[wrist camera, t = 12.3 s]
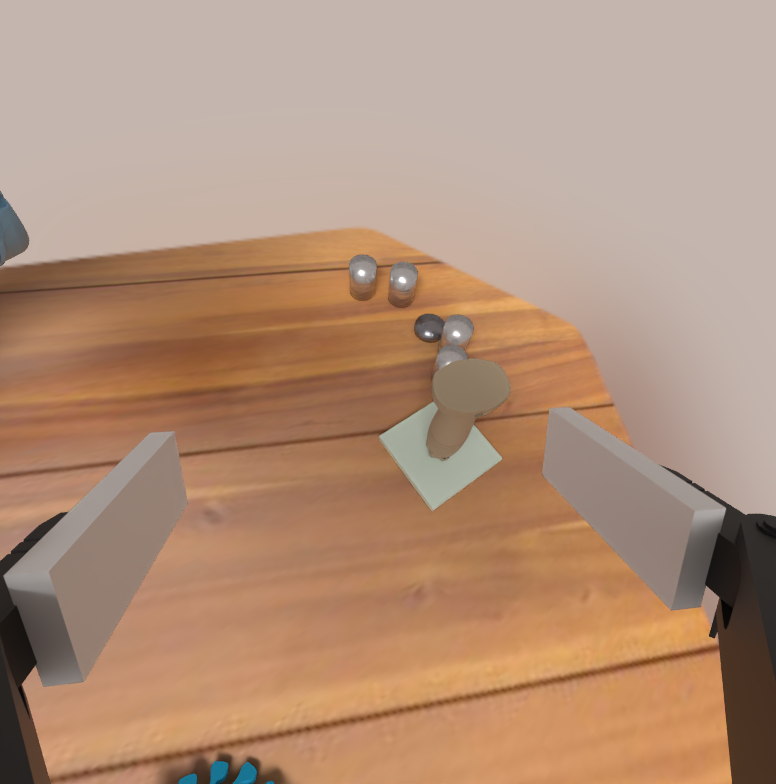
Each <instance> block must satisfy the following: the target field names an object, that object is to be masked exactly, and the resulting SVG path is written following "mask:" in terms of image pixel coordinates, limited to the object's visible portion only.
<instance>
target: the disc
mask: <svg viewBox="0 0 776 784" xmlns="http://www.w3.org/2000/svg"><path fill="white" fill-rule="evenodd" d="M444 325H445V323H444V321H443V320H442V319H441V318H440V317H439V316H437V315H434V314H424V315H421V316H420V317H419V318H418V319H417V320H416V323H415V328H414V331H415V334H416V336H417V337H418V338H419V339H420V340H422V341H424V342H428V343H433V342H437V341H439V340H440V338H441V335H442V331H443V328H444Z"/></svg>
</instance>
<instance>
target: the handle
mask: <svg viewBox="0 0 776 784" xmlns="http://www.w3.org/2000/svg"><path fill="white" fill-rule="evenodd" d="M510 389H511V388H510V382H509V379H508V377H507V375H506V373H505V371H504V370H503V369H502V368H501V367H500V366H499V365H498V364H497V363H495V362H492V361H487V360H482V359H475V358H472V359H464V360H458V361H454V362H451V363H449V364H447V365H446V366H444V367H443V368H441V369H440V370H439V371H437V372H436V373H435V374H434V377H433V380H432V384H431V393H432V398H433V400H434V403H435V404H436V406H437V408H438V410H437V412H436V414H435V415H434V417H433V419H432V421H431V423H430V426H429V429H428V434H427V440H426V447H427V448H428V450H429V456H430V457H431V458H438V459H440V460H441V461H446V460H448V459H449V457H450V456H452V455H453V454H454V453H456V452H457V451H458V450H459V449H460V448H461V447H462V445H463V444H464V442H465V441H466V439H467V438H468V436H469V433H470V431H471V429H472V427H473V424H474V422H475V420H476V418H479V417H482V416H485V415H487V414H489V413H491V412H492V411H494V410H495V409H497V408H498V407H499V406H500V405H502V404H503V403H504V402H505V401H506V400H507V398H508V397H509V395H510Z"/></svg>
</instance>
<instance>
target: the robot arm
mask: <svg viewBox="0 0 776 784" xmlns="http://www.w3.org/2000/svg"><path fill="white" fill-rule="evenodd" d="M28 245H29V237H28V234H27V232H26V230H25V228H24V226H23V224H22V223H21V221H20V219H19V218H18V216H17V214H16V213H15V212H14V210H13V209H12V207H11V206H10V204H9V203H8V202H7V200H6V199H4V197H3V194H2V193H1V191H0V266H1V265H3V264H4V263H5V261H6V260H8V259H11V258H12V257H14V256H16V255H18V254H20V253H22V252H24V251H25V250H26V249H27V247H28ZM542 475H543V476H544V478H545V479H546V480H547V481H548V482H549V483H550V484H551V485H552V486H553V487H554V488H555V489H556V490H557V491H558V492H559V493H560V494H561V495H562V496H563V497H564V499H565V500H566V501H567V502H568V503H569V504H570V505H571V506H572V507H573V508H574V509H575V510H576V511H577V512H578V513H579V514H580V515H581V516H582V517H583V518H584V520H585V521H586V522H587V523H588V524H589V525H590V526H591V527H592V528H593V529H594V530H595V531H596V532H597V533H598V534H599V535H600V536H601V537H602V538H603V539H604V540H605V542H606V543H607V544H608V545H609V546H610V547H611V548H612V549H613V550H614V551H615V552H616V553H617V554H618V555H619V556H620V557H621V558H622V559H623V560H624V561H625V563H626V564H627V565H628V566H629V567H630V568H631V569H632V570H633V571H634V572H635V573H636V574H637V575H638V576H639V577H640V578H641V579H642V580H643V581H644V582H645V584H646V585H647V586H648V587H649V588H650V589H651V590H652V591H653V592H654V593H655V594H656V595H657V596H658V597H659V598H660V599H661V600H662V601H663V602H664V603H665V605H666V606H667V607H668V608H669V609H670V610H671V611H672V610H680V609H688V608H697V607H701V603H702V599H703V595H704V591H705V588H706V586H707V587H709V588H710V589H711V590H712V591H713V592H714V593H715V594H716V595H718V596H719V597H720V598H719V602H718V605H717V609H716V612H715V616H714V620H713V623H712V627H711V630H710V634H709V636H710V637H712V638H715V636H716V634H717V632H718V639H719V649H720V660H721V670H722V681H723V692H724V702H725V713H726V723H727V734H728V745H729V755H730V766H731V776H732V784H776V517H775V516H771V515H765V514H747V515H745V514H743V513H742V512H740V511H739V510H737V509H735V508H734V507H732V506H731V505H729V504H727V503H726V502H724V501H723V500H721V499H720V498H718V497H716V496H715V495H713V494H712V493H710V492H708V491H705V490H704V489H703V488H702V487H700V486H699V485H697V484H696V483H692V481H691V480H689V479H688V478H686V477H685V476H683V475H681V474H680V473H678V472H676V471H673V470H671V469H669V468H666V467H664V466H661V465H659V464H657V463H655V462H654V461H652V460H651V459H649V458H648V457H646V456H645V455H643V454H641V453H640V452H638V451H637V450H635V449H634V448H632V447H631V446H629V445H627V444H626V443H624V442H623V441H621V440H620V439H618V438H617V437H615V436H613V435H612V434H610V433H609V432H607V431H606V430H604V429H602V428H601V427H599V426H598V425H596V424H595V423H593V422H592V421H590V420H588V419H587V418H585V417H584V416H582V415H581V414H579V413H578V412H576V411H574V410H573V409H571V408H570V407H562V408H549V417H548V426H547V436H546V445H545V455H544V464H543V473H542ZM187 504H188V502H187V496H186V491H185V485H184V480H183V475H182V469H181V464H180V458H179V453H178V448H177V442H176V437H175V432H174V431H171V432H154V433H149V434H148V435H147V436H146V437H145V438H144V439H143V440H142V441H141V442H140V443H139V444H138V445H137V446H136V447H135V448H134V449H133V450H132V451H131V452H130V453H129V454H128V455H127V456H126V457H125V458H124V459H123V460H122V461H121V462H120V463H119V464H118V465H117V466H116V467H114V468H113V469H112V470H111V471H110V472H109V473H108V474H107V475H106V476H105V477H104V478H103V479H102V480H101V481H100V482H99V483H98V484H97V485H96V486H95V487H94V488H93V489H92V490H91V491H90V492H89V493H88V494H87V495H86V496H85V497H84V498H83V499H82V500H81V501H80V502H79V503H78V504H77V505H75V506H74V507H73V508H72V509H71V510H70V511H69V512H65V513H59V514H58V515H56V516H54V517H53V518H51V519H49V520H47V521H46V522H44V523H42V524H41V525H39V526H38V527H37V528H36V529H35V530H34V531H32V532H31V533H30V534H29V535H28V536H27V537H26V538H25V539H24V542H21V543H19V544H18V545H17V546H16V547H15V548H14V549H13V550H12V551H11V554H7V555H6V556H5V557H4V558H3V559H2V560H1V561H0V784H51V783H50V780H49V776H48V772H47V769H46V765H45V762H44V758H43V755H42V751H41V747H40V744H39V740H38V737H37V733H36V729H35V726H34V722H33V719H32V715H31V711H30V708H29V704H28V701H27V697H26V694H25V692H24V689H23V686H22V683H23V682H24V680H25V679H26V677H27V676H28V675H29V673H30V672H31V671H32V669H33V668H34V666H35V665H36V667H37V670H38V673H39V676H40V679H41V681H42V684H43V687H46V686H54V685H63V684H71V683H79V682H84V681H85V679H86V678H87V676H88V674H89V672H90V671H91V669H92V667H93V665H94V664H95V662H96V660H97V659H98V657H99V655H100V653H101V652H102V650H103V648H104V647H105V645H106V643H107V641H108V640H109V638H110V636H111V635H112V633H113V631H114V629H115V628H116V626H117V624H118V623H119V621H120V619H121V617H122V616H123V614H124V612H125V611H126V609H127V607H128V605H129V604H130V602H131V600H132V599H133V597H134V595H135V593H136V592H137V590H138V588H139V586H140V585H141V583H142V581H143V580H144V578H145V576H146V574H147V573H148V571H149V569H150V568H151V566H152V564H153V562H154V561H155V559H156V557H157V556H158V554H159V552H160V550H161V549H162V547H163V545H164V544H165V542H166V540H167V538H168V537H169V535H170V533H171V532H172V530H173V528H174V526H175V525H176V523H177V521H178V520H179V518H180V516H181V514H182V513H183V511H184V509H185V508H186V506H187Z"/></svg>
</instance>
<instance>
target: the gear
mask: <svg viewBox="0 0 776 784" xmlns="http://www.w3.org/2000/svg"><path fill="white" fill-rule="evenodd" d="M227 775H228V763H226V762H223V761H215V762H214V763H213V764H212V767H211V776H210V778H211V781H210V784H221V783H222V782H223V781H224V780H225V779H226V777H227ZM256 776H257V770H256V769H255V767H254V766H253V765H252V764H250V763H249V762H247V763H245V764H244V765H243V766H242V768H241V770H240V773H239V775H238V777H237V779H236V780H235V781H234V783H233V784H254V782H255V781H256ZM178 784H197V776H196V774H190V775H188V776H185V777H183V778H182V779H180V780H179V783H178ZM265 784H274V782H273V781H269V782H267V783H265Z"/></svg>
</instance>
